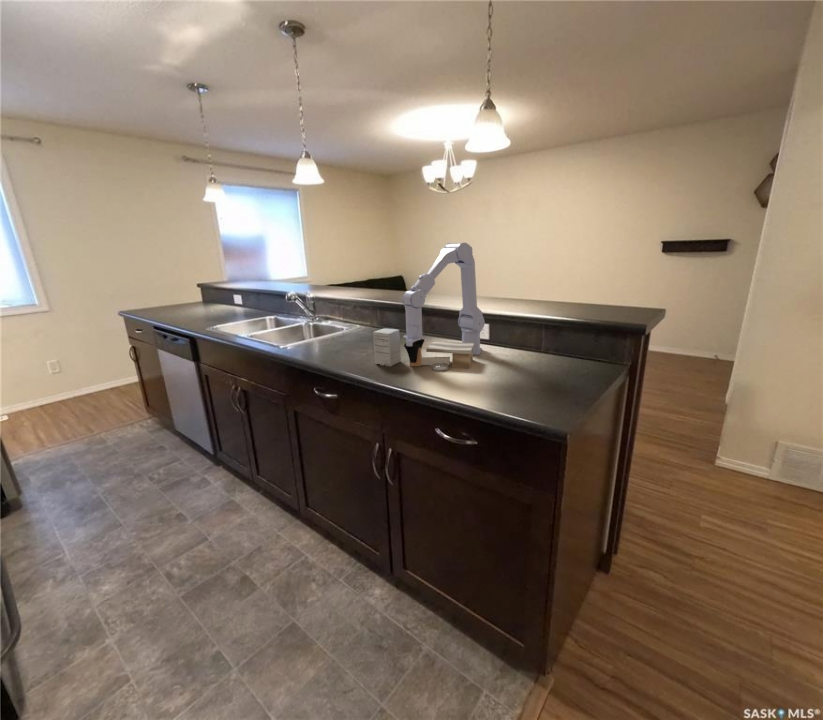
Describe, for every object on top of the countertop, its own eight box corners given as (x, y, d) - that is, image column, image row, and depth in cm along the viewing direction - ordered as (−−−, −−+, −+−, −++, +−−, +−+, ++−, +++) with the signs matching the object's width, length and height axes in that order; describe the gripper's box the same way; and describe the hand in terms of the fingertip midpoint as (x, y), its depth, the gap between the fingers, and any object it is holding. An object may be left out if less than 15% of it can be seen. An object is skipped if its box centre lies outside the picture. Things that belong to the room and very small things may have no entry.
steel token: (433, 366, 142) (433, 362, 142) (450, 367, 141) (450, 363, 140) (430, 371, 136) (430, 367, 136) (447, 372, 135) (447, 368, 135)
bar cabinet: (433, 357, 152) (432, 341, 150) (474, 359, 148) (474, 343, 146) (426, 366, 142) (426, 348, 140) (470, 368, 138) (470, 350, 136)
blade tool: (411, 363, 145) (410, 347, 144) (450, 362, 143) (449, 346, 142) (409, 366, 142) (408, 350, 140) (449, 365, 140) (449, 349, 138)
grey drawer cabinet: (385, 359, 152) (383, 327, 149) (401, 361, 148) (400, 329, 145) (374, 364, 146) (372, 331, 143) (390, 366, 142) (389, 333, 139)
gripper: (408, 320, 147) (409, 354, 151) (397, 328, 133) (398, 365, 137) (426, 320, 145) (427, 355, 149) (417, 328, 132) (418, 366, 135)
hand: (415, 360), depth 143 cm, fingers closed on blade tool, 4 cm apart
